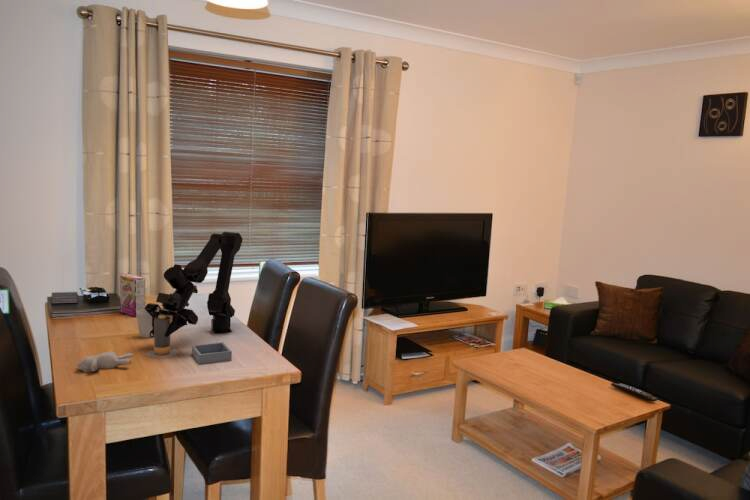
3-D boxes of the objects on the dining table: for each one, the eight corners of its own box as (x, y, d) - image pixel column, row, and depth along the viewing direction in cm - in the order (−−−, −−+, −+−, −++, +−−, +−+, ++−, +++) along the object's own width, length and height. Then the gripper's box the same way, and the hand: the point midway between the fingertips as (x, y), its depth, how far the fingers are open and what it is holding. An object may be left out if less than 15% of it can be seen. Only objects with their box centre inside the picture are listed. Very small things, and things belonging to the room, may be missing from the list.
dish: (222, 353, 197) (223, 342, 197) (231, 363, 188) (231, 351, 188) (191, 356, 192) (191, 345, 191) (198, 367, 183) (199, 355, 182)
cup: (152, 342, 205) (152, 315, 204) (132, 339, 207) (131, 313, 205) (164, 336, 213) (164, 310, 211) (145, 333, 214) (145, 307, 213)
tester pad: (174, 349, 198) (174, 346, 198) (180, 358, 190) (180, 355, 190) (144, 352, 193) (144, 350, 193) (148, 362, 185) (148, 359, 184)
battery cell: (168, 349, 195) (168, 313, 193) (171, 354, 190) (171, 316, 189) (152, 351, 192) (152, 314, 190) (155, 356, 188) (155, 318, 186)
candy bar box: (119, 312, 241) (118, 275, 238) (129, 310, 245) (129, 273, 243) (135, 317, 235) (135, 279, 233) (146, 315, 239) (146, 277, 237)
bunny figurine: (81, 352, 179) (132, 345, 183) (84, 368, 180) (134, 361, 183) (74, 363, 170) (128, 355, 174) (77, 379, 171) (130, 371, 174)
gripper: (148, 280, 195) (124, 318, 186) (193, 286, 189) (170, 326, 180) (163, 298, 203) (141, 335, 194) (207, 304, 197) (186, 343, 188)
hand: (159, 335), depth 189 cm, fingers closed on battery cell, 5 cm apart
